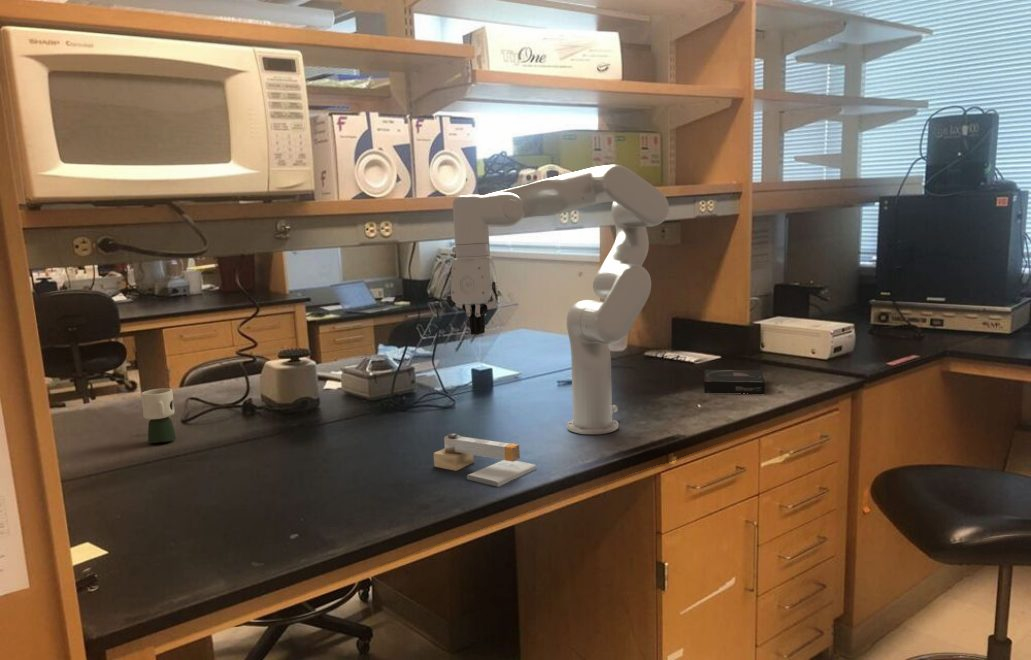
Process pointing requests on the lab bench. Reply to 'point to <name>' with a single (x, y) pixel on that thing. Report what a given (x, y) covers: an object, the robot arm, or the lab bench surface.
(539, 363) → the lab bench surface
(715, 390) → the portable cd player
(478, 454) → the latch arm
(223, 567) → the lab bench surface
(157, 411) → the character mug
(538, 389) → the lab bench surface
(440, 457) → the block
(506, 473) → the external hard drive
